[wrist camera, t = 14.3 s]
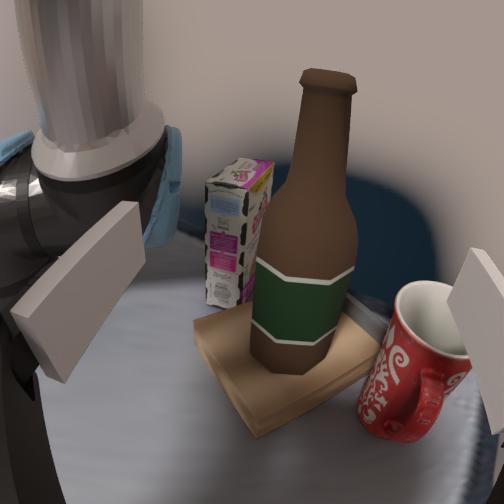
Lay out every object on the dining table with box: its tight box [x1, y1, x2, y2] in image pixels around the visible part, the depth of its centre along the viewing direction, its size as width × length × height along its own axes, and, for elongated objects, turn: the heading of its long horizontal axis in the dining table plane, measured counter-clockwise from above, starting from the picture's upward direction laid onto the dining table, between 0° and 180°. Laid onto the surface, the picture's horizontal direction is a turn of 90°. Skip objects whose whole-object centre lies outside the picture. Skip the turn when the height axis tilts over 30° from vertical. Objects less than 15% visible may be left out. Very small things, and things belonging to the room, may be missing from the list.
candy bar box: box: [205, 158, 274, 310], centre depth 40 cm, size 11×5×16 cm, turn 163°
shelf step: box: [193, 292, 388, 439], centre depth 32 cm, size 13×16×6 cm
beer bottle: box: [250, 68, 359, 375], centre depth 23 cm, size 8×8×24 cm
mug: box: [358, 281, 472, 443], centre depth 22 cm, size 13×9×14 cm
